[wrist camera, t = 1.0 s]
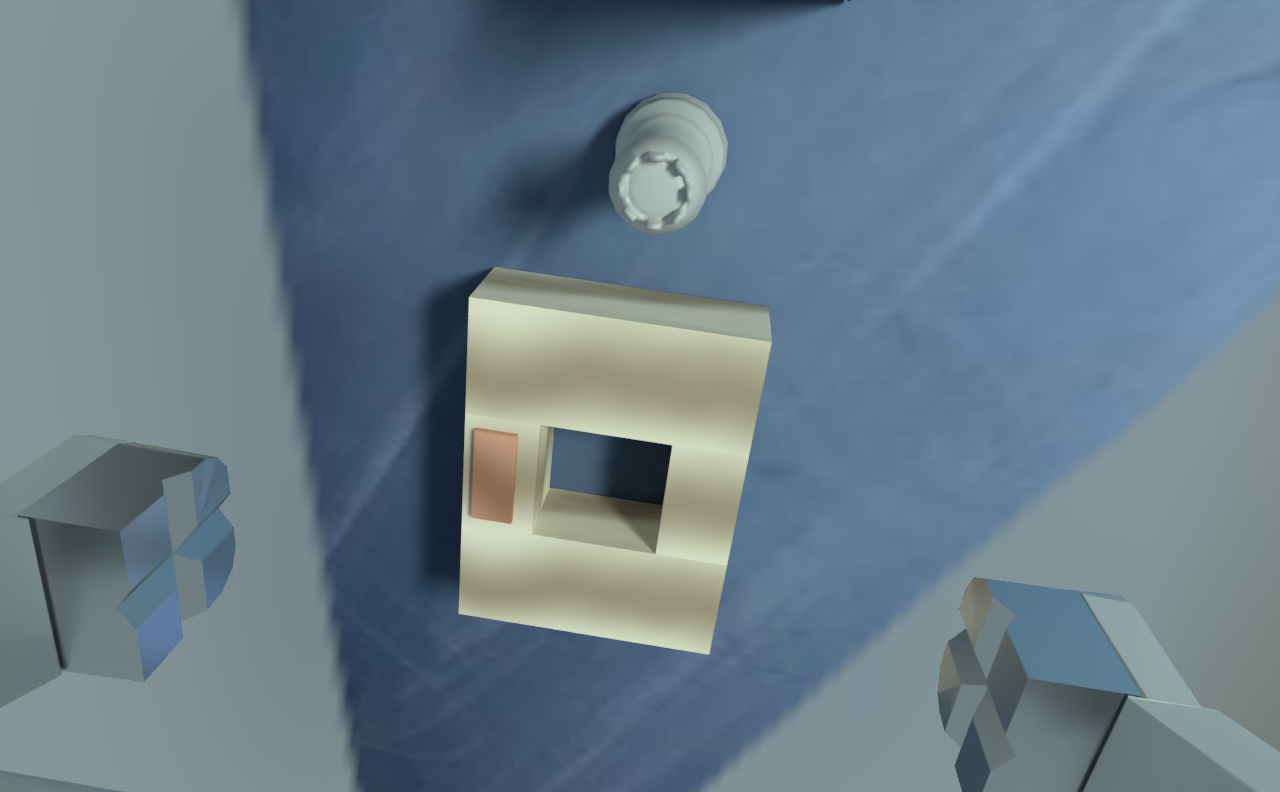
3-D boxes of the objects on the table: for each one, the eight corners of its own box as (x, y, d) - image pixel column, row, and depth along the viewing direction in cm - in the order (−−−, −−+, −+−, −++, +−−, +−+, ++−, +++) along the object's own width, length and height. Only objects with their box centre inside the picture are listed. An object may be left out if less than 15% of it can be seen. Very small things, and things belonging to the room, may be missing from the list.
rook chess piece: (606, 188, 36) (573, 240, 29) (631, 77, 34) (602, 103, 27) (710, 216, 36) (703, 275, 29) (741, 107, 34) (742, 141, 27)
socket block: (494, 266, 38) (467, 299, 34) (768, 307, 37) (772, 344, 33) (481, 562, 45) (456, 617, 41) (711, 599, 44) (708, 659, 40)
